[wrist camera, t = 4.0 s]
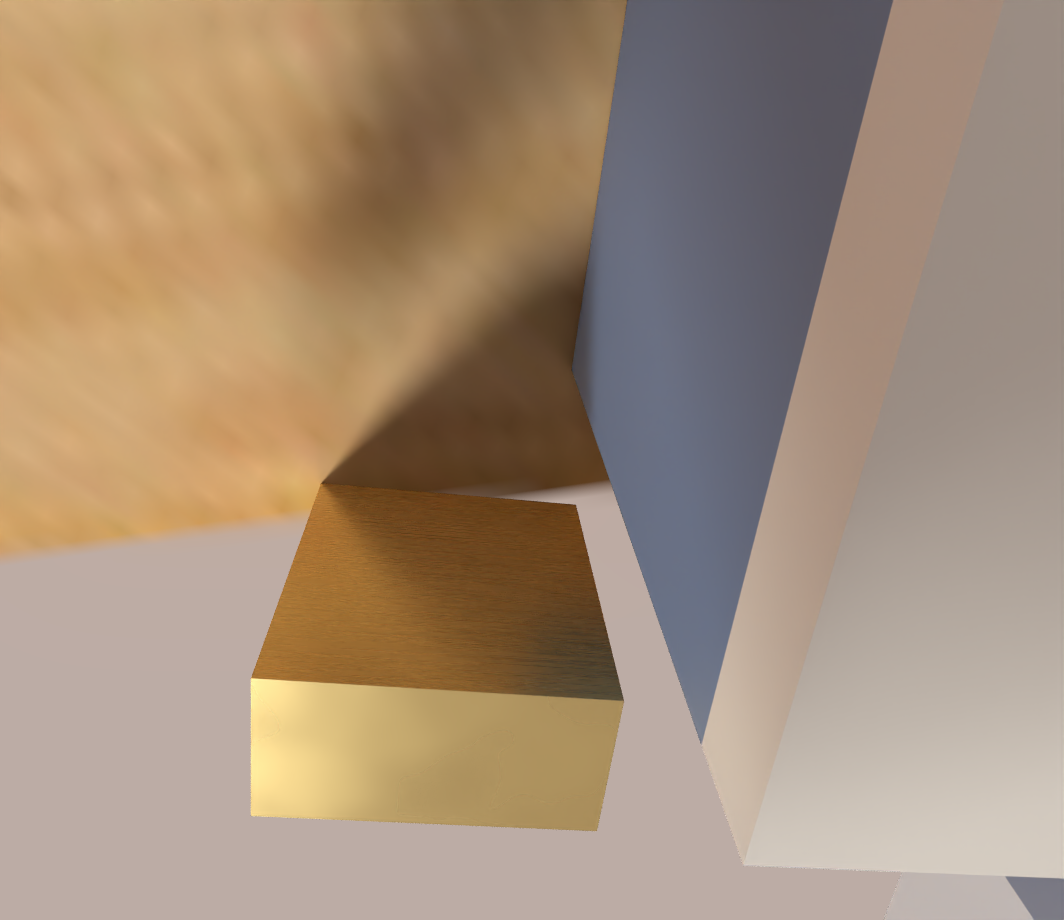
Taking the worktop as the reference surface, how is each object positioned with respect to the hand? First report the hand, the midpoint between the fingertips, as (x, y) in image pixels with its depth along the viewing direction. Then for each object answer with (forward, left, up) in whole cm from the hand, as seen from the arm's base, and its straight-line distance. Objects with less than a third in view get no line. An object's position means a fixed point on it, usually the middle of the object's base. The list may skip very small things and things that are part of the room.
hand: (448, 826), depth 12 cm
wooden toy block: (0, 0, -7) cm, 7 cm away
